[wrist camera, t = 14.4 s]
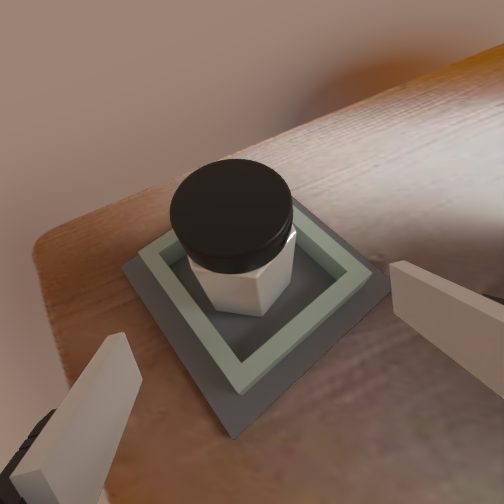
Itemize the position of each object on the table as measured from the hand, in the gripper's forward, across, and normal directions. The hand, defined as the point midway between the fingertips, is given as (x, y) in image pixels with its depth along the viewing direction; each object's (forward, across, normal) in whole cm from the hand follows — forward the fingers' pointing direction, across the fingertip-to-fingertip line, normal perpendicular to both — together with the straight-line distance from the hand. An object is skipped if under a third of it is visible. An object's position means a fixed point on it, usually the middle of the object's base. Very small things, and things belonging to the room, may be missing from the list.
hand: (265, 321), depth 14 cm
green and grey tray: (+16, 0, -4) cm, 16 cm away
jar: (+15, 0, -3) cm, 16 cm away
